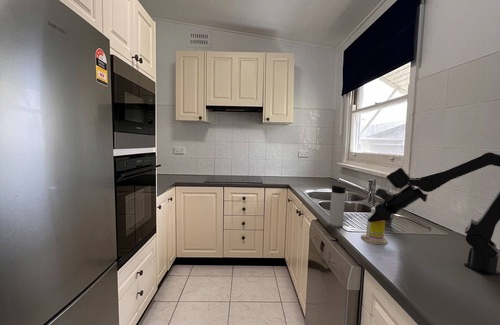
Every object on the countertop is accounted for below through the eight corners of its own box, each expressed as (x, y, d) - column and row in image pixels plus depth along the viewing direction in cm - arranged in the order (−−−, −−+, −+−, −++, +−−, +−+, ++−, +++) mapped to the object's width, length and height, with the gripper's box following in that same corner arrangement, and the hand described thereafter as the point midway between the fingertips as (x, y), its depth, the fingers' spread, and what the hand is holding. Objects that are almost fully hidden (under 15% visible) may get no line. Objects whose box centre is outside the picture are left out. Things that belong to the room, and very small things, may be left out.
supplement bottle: (387, 241, 101) (390, 211, 99) (371, 241, 100) (374, 211, 99) (377, 235, 107) (380, 206, 106) (362, 235, 107) (365, 206, 106)
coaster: (393, 244, 100) (393, 243, 100) (369, 244, 99) (369, 243, 98) (377, 235, 110) (377, 233, 109) (356, 235, 108) (356, 233, 108)
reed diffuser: (379, 226, 121) (383, 186, 120) (376, 221, 128) (379, 184, 126) (396, 228, 119) (399, 187, 117) (392, 223, 126) (395, 185, 124)
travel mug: (326, 224, 121) (328, 184, 120) (336, 222, 124) (338, 183, 122) (335, 228, 116) (338, 186, 114) (345, 227, 118) (348, 186, 117)
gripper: (395, 179, 106) (366, 199, 114) (383, 184, 92) (351, 206, 101) (415, 200, 101) (383, 220, 110) (405, 209, 88) (370, 230, 96)
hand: (372, 218), depth 104 cm, fingers open, 9 cm apart
